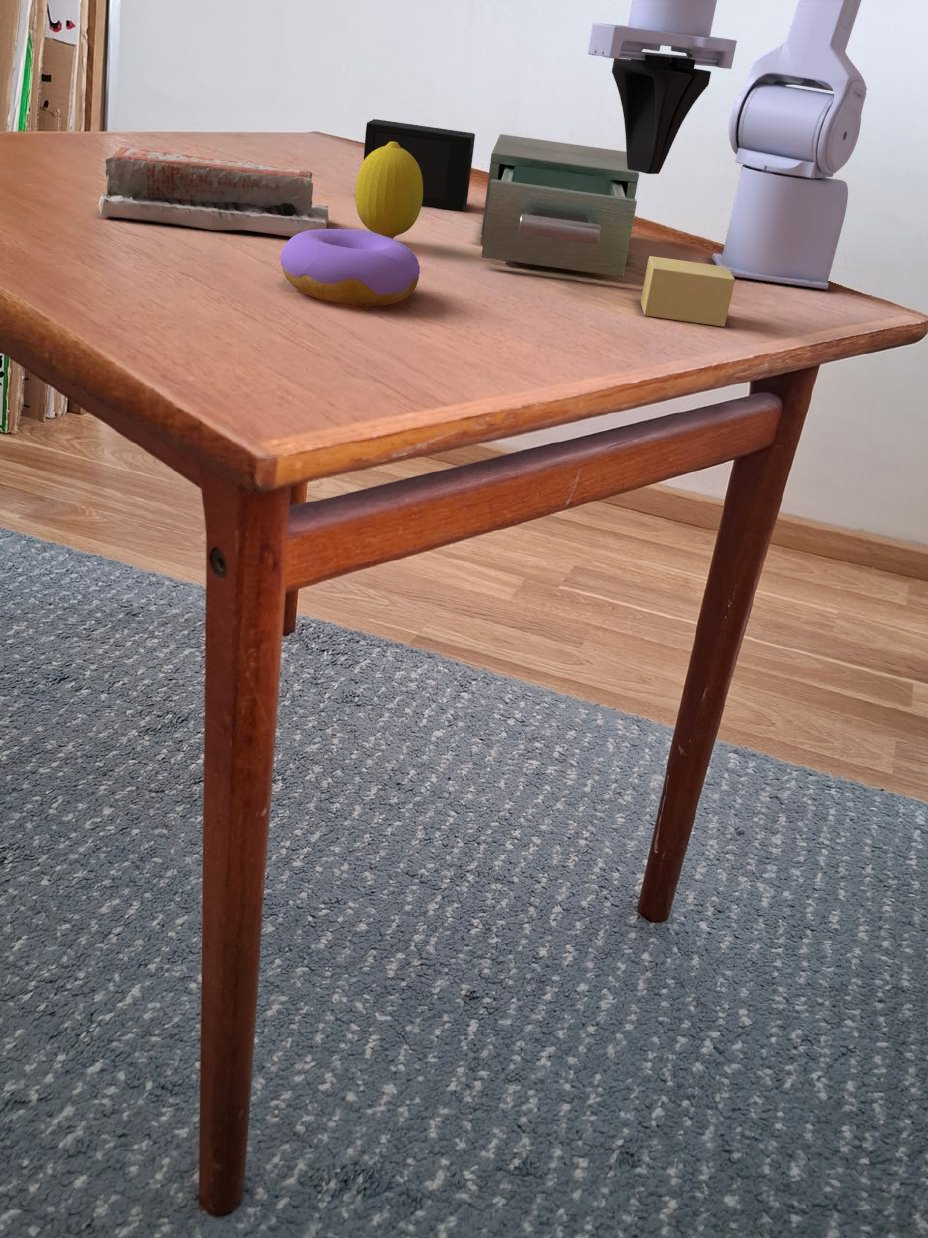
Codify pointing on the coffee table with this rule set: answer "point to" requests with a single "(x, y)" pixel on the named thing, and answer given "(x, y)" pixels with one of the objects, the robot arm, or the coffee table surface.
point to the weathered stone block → (209, 193)
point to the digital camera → (430, 158)
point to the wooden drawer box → (559, 162)
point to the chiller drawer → (559, 221)
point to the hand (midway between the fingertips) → (643, 171)
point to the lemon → (389, 191)
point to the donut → (350, 266)
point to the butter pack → (687, 291)
